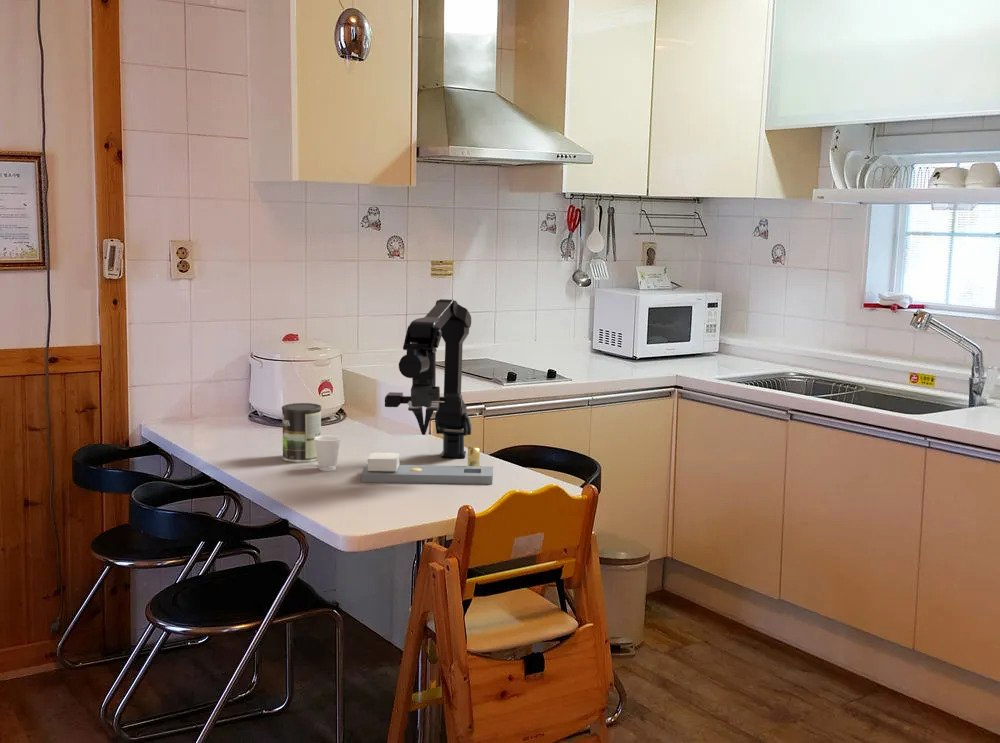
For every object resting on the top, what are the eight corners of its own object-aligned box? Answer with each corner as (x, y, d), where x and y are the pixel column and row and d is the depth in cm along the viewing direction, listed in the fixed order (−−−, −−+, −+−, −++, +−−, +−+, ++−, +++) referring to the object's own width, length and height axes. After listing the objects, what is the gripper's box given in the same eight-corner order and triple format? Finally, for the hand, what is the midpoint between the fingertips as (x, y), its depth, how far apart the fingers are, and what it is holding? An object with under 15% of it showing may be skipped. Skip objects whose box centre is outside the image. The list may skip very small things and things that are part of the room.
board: (366, 472, 260) (366, 463, 260) (492, 474, 260) (492, 466, 260) (360, 481, 250) (360, 473, 250) (492, 484, 250) (492, 475, 250)
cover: (371, 464, 259) (371, 452, 258) (399, 464, 258) (399, 453, 258) (367, 470, 252) (367, 458, 251) (396, 471, 252) (396, 459, 251)
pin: (467, 469, 265) (468, 446, 264) (479, 469, 265) (479, 446, 264) (467, 472, 262) (467, 449, 261) (479, 472, 262) (479, 449, 261)
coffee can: (285, 464, 268) (285, 410, 266) (279, 455, 277) (279, 403, 275) (325, 461, 271) (324, 408, 269) (317, 453, 281) (317, 402, 279)
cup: (318, 473, 258) (318, 441, 257) (306, 464, 267) (306, 434, 266) (345, 470, 262) (345, 439, 261) (332, 462, 270) (332, 432, 269)
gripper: (381, 376, 244) (381, 441, 247) (460, 377, 244) (459, 442, 246) (387, 369, 255) (387, 431, 258) (462, 371, 255) (462, 432, 257)
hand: (423, 434), depth 254 cm, fingers closed
